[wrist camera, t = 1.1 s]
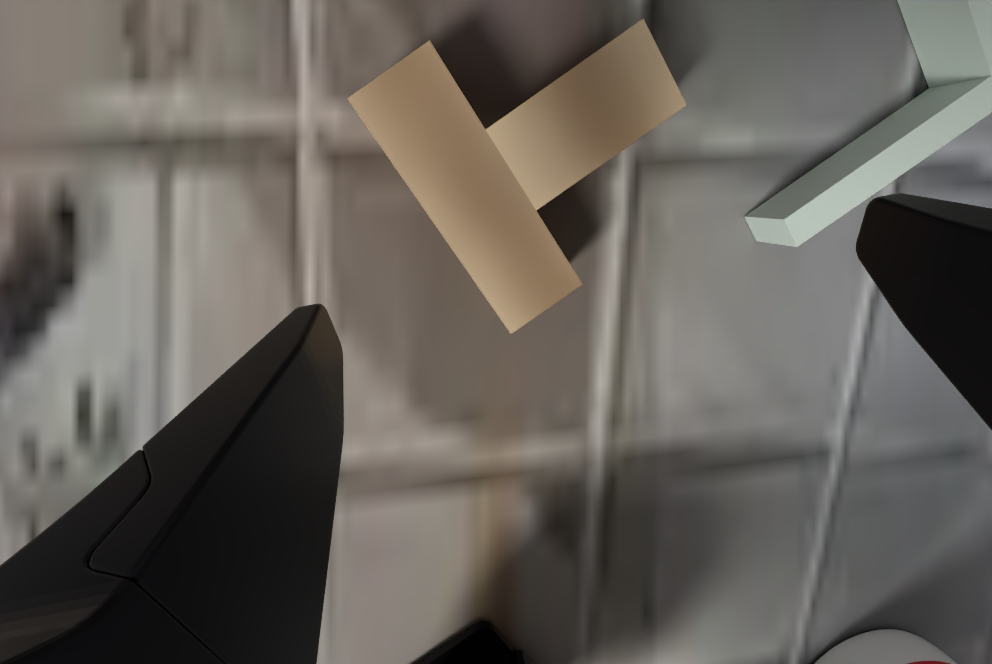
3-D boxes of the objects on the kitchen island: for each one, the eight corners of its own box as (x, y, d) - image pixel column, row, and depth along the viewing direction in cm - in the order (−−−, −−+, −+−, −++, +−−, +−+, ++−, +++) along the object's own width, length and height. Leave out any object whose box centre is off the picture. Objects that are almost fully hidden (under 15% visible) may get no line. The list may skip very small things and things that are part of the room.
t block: (498, 315, 22) (511, 334, 19) (356, 112, 19) (347, 98, 17) (684, 184, 22) (726, 183, 19) (567, -37, 19) (595, -78, 16)
